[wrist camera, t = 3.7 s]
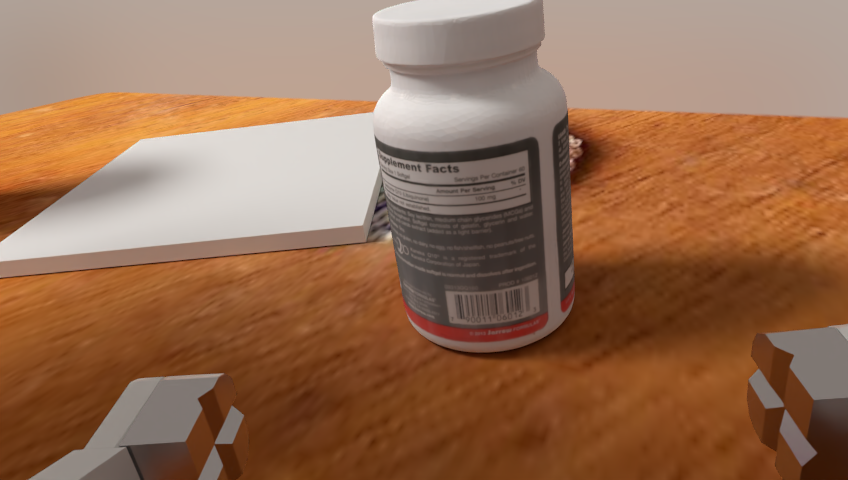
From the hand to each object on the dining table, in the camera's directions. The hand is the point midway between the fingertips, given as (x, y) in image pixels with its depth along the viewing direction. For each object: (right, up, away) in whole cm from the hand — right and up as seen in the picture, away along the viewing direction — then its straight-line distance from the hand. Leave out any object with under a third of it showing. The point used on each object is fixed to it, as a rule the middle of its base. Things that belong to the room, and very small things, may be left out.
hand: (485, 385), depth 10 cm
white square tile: (-12, +5, +27) cm, 30 cm away
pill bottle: (+1, 0, +12) cm, 12 cm away
